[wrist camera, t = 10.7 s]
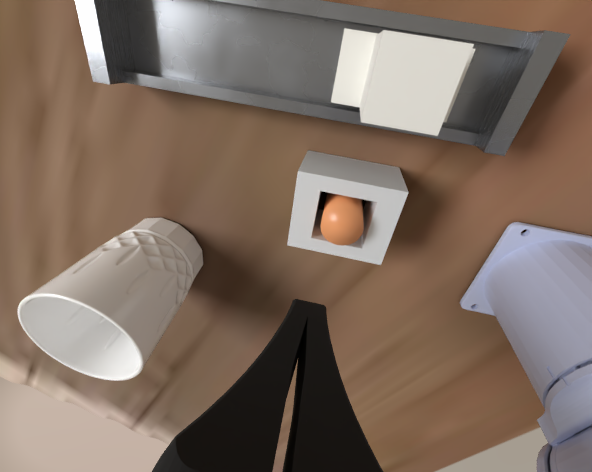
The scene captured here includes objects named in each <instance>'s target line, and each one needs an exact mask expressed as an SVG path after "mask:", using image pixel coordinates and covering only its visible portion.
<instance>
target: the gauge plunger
mask: <svg viewBox="0 0 592 472" xmlns="http://www.w3.org/2000/svg"><path fill="white" fill-rule="evenodd" d="M363 230H364V223H363V203H362V199H358V198H353V197H348V196H343V195H338V194H333V193H328V192H327V195H326V200H325V205H324V210H323V215H322V220H321V232H322V234H323V236H324V237H325V239H326V240H328V241H329V242H331V243H333V244H336V245H342V246H343V245H349V244H352V243H354V242H356V241H357V240H358V239H359V238H360V237H361V235H362V233H363Z"/></svg>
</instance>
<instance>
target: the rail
mask: <svg viewBox="0 0 592 472" xmlns="http://www.w3.org/2000/svg"><path fill="white" fill-rule="evenodd" d="M75 3H76V8H77V12H78V16H79V21H80V25H81V30H82V34H83V39H84V43H85V48H86V52H87V57H88V61H89V66H90V70H91V74H92V79H93V81H94V82H99V83H105V84H117V83H130V84H135V85H141V86H147V87H152V88H158V89H163V90H169V91H174V92H180V93H186V94H191V95H197V96H202V97H208V98H213V99H219V100H224V101H230V102H236V103H241V104H247V105H252V106H258V107H263V108H269V109H274V110H280V111H286V112H291V113H297V114H302V115H308V116H313V117H319V118H324V119H330V120H336V121H341V122H347V123H352V124H358V125H363V126H369V127H374V128H380V129H386V130H391V131H397V132H402V133H408V134H413V135H419V136H425V137H430V138H436V139H441V140H447V141H452V142H458V143H463V144H469V145H475V146H477V147H478V148H479V149H481V150H482V151H483V152H486V153H491V154H497V155H502V156H505V154H506V152H507V150H508V148H509V147H510V145H511V143H512V141H513V139H514V137H515V136H516V134H517V132H518V130H519V128H520V126H521V125H522V123H523V121H524V119H525V117H526V115H527V113H528V112H529V110H530V108H531V106H532V104H533V102H534V101H535V99H536V97H537V95H538V93H539V91H540V89H541V88H542V86H543V84H544V82H545V80H546V78H547V77H548V75H549V73H550V71H551V69H552V67H553V65H554V64H555V62H556V60H557V58H558V56H559V54H560V53H561V51H562V49H563V47H564V45H565V43H566V41H567V40H568V38H569V36H570V34H565V33H558V32H552V31H545V30H544V31H535V32H525V31H519V30H512V29H506V28H499V27H492V26H486V25H479V24H473V23H466V22H459V21H453V20H446V19H440V18H433V17H426V16H420V15H413V14H407V13H400V12H394V11H387V10H380V9H374V8H367V7H361V6H354V5H347V4H341V3H334V2H328V1H321V0H75ZM344 28H346V29H352V30H359V31H365V32H371V33H378V34H379V33H380V32H382V31H383V30H387V31H394V32H400V33H407V34H413V35H419V36H426V37H432V38H439V39H445V40H451V41H458V42H464V43H471V44H474V46H473V49H475V52H474V54H473V57H472V59H471V62H470V64H469V67H468V69H467V72H466V74H465V77H464V79H463V82H462V84H461V87H460V89H459V92H458V94H457V97H456V99H455V102H454V104H453V107H452V109H451V112H450V114H449V117H448V119H447V122H443V124H442V126H441V129H440V131H439V134H438V136H435V135H429V134H424V133H418V132H413V131H407V130H401V129H396V128H390V127H385V126H379V125H373V124H368V123H362V122H361V118H360V107H354V106H349V105H343V104H337V103H332V102H331V98H332V93H333V87H334V82H335V77H336V71H337V66H338V60H339V55H340V50H341V44H342V39H343V34H344Z"/></svg>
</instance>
